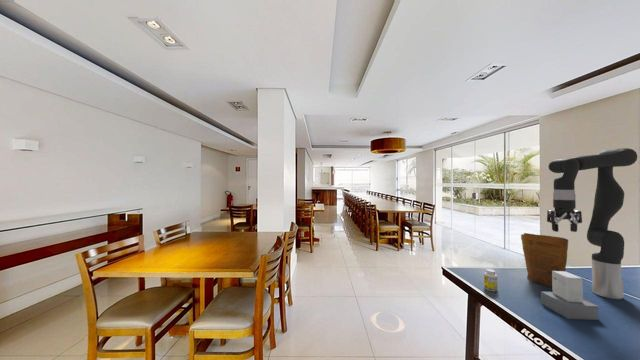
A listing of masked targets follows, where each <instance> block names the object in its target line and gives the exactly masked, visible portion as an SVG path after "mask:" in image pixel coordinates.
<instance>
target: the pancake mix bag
mask: <svg viewBox="0 0 640 360" xmlns="http://www.w3.org/2000/svg"><path fill="white" fill-rule="evenodd" d="M520 239H521V246H522V252H523V255H524V256H523V257H524V261H525V267H526V272H527V277H526V279H527V280H529V281H530V282H533V283H536V284H540V285H543V286H547V287H550V288H552V271H565V272H567V271H566V268H567V267H566V266H567V263H568V250H569V239H567V238H565V237H559V236H552V235H543V234H534V233H528V232H524V233H522V234H520Z"/></svg>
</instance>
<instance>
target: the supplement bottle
mask: <svg viewBox="0 0 640 360" xmlns="http://www.w3.org/2000/svg"><path fill="white" fill-rule="evenodd" d="M483 276H484V288H485V289H486V290H487V291H489V292H497V291H498V275H497V273H496V270H494V269H492V268H486V269H485V272H484V274H483Z"/></svg>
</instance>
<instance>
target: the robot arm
mask: <svg viewBox="0 0 640 360" xmlns="http://www.w3.org/2000/svg"><path fill="white" fill-rule="evenodd" d="M637 159H638V153H637V152H636V150H635V149H633V148H629V147H627V148H626V147H622V148H621V147H620V148H611V149H603V150H601V151H600V152H599V154H590V155H581V156H574V157H568V158H561V159H560V158H558V159H554V160H551V161H550V162H549V163H548V167H547V168H548V170H549V171H550V172H551V173H554V174H562V176H560V177H557V178H554V179H553V194H552V204H553V205H552V207H553V209H554V210H550V209H548V210H547V212H546V213H547V214H546V215H547V216H546V222H547V223H551V230H552V232H554V233H555V232H557V233H559V223H560V222H561V221H562V220H567V221H568V222H569V223H570V224H569V225H570V226H569V227H570V230H569V231H570V232H573V233H577V232H578V225H579V224H582V223H583V215H582V211H581V210H576V207H577V205H576V204H577V203H576V202H577V201H576V191H575V188H576V187H575V186H576V185H575V181H576V179H577V176H578V173H579V171H586V170H593V169H597V178H596V179H597V180H596V188H595V193H594V199H593V200H594V201H593V208H592V213H591V218H590V222H589V225H588V229H587V231H586V239H587V242H589V244H591V245H593V246H597V247H600V251H599V252H594V253H592V254H591V289H592V290H591V291H592V293H593V294H595V295H597V296H600V297H604V298H607V299H612V300H622V299H624V298H625V297H624V296H625V295H624V293H625V292H624V279H623V278H622V260H623V258H624V254H625V238H624V237H623V235H622V234H621V233H619V232H617V231H614V230H609V224H610V221H611V219H612V218H613V217H614V216H615V215H616V214H617V213H618V212H619V211H620V210H621V209H622V208H623V205H624V201H625V192H624V190H623V188H622V186H621V185H620V184H619V182H617V181H616V179H615V177H614V171H613V170H614V168H616V167H617V168H618V167H629V166H632V165H633V164H635V163H636V162H637V161H638V160H637Z"/></svg>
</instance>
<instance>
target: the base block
mask: <svg viewBox="0 0 640 360" xmlns="http://www.w3.org/2000/svg"><path fill="white" fill-rule="evenodd" d="M540 303H541V305H543V306H545V307H547V308H549V309H550V310H551V311H554V312H555V313H557V314H559V315H561V316H563V317H565V318H566V319H567V320H590V321H591V320H593V321H594V320H595V321H597V320H599V305H597V304H594V303H593V302H590V301H588V300H585V299H584V298H583V303H581V302H568V301H566V300H564V299H563V298H561V297H559V296H557V295H555V294H553V291H541V292H540Z"/></svg>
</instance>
